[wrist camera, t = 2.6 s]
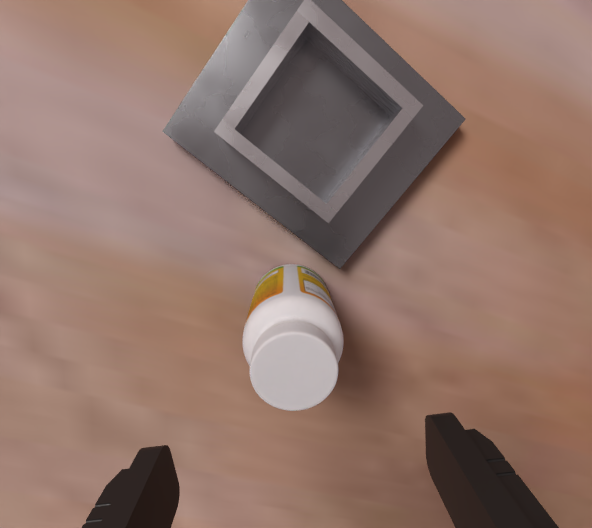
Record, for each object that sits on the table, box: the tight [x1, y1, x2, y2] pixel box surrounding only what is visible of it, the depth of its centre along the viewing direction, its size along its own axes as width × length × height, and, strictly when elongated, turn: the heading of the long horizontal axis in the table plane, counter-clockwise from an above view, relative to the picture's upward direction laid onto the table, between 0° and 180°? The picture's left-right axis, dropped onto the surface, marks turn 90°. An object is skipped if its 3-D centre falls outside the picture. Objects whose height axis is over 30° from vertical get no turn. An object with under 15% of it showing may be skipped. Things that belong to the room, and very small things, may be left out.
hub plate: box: [162, 0, 465, 269], centre depth 20 cm, size 14×12×3 cm
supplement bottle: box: [243, 264, 344, 411], centre depth 19 cm, size 5×5×10 cm
